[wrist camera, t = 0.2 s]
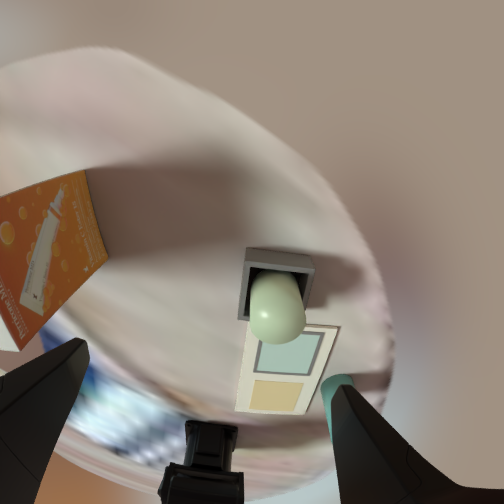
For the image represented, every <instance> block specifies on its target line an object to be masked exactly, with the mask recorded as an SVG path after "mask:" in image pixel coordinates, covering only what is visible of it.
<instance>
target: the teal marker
mask: <svg viewBox="0 0 504 504" xmlns="http://www.w3.org/2000/svg"><path fill="white" fill-rule="evenodd" d="M340 384H350V385H352V386H353V387H354V388H355V386H354V383H353V380H352V378H351V377H350V376H348V375H345V374H338V375H334V376H331V377H329V378H327V379H326V380H325V381H324V382H323V383H322V385H321V394H322V398H323V403H324V408H325V413H326V418H327V423H328V428H329V433H330V438H331V442H332V426H331V399H332V397H333V395H334V393H335V392H336V390H337V388H338V386H339V385H340ZM332 444H333V443H332Z"/></svg>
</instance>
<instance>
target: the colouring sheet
mask: <svg viewBox="0 0 504 504" xmlns="http://www.w3.org/2000/svg"><path fill="white" fill-rule="evenodd" d="M337 330H338V329H337V327H335V326H320V325H307V324H306V326H305V328H304V330H303V332H302V333H301V334H300V336H298V337H297V338H296V339H294V340H293V341H291V342H288V343H285V344H278V345H275V344H268V343H265V342H263V341H261V340H259V339H258V338H256V337H255V335H254V334H253V333H252V331H251V328H250V321H248V327H247V334H246V340H245V347H244V353H243V360H242V366H241V373H240V379H239V386H238V392H237V398H236V405H235V411H240V412H251V413H265V414H285V415H304V414H305V412H306V409H307V407H308V405H309V402H310V400H311V398H312V395H313V393H314V390H315V388H316V386H317V383H318V381H319V378H320V376H321V373H322V371H323V368H324V365H325V363H326V360H327V357H328V355H329V352H330V349H331V347H332V344H333V341H334V338H335V336H336V333H337Z"/></svg>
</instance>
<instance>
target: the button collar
mask: <svg viewBox="0 0 504 504" xmlns="http://www.w3.org/2000/svg"><path fill="white" fill-rule="evenodd" d="M250 267H257V268H266V269H274V270H282V271H291V272H300V273H301V277H300V281H299V286H298V287H299V291H300V295H301V299H302V303H303V307H304V311H305V310H306V306H307V302H308V298H309V294H310V290H311V286H312V282H313V278H314V274H315V270H316V269H315V266H314V264H313V262H312V259H311V257H310V256H308V255H300V254H292V253H284V252H276V251H268V250H260V249H251V248H246V253H245V261H244V269H243V276H242V284H241V292H240V300H239V309H238V320H245V321H250V300H246V293H247V286H248V279H249V272H250Z"/></svg>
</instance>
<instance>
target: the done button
mask: <svg viewBox="0 0 504 504" xmlns="http://www.w3.org/2000/svg"><path fill="white" fill-rule="evenodd" d="M305 326H306V315H305V311H304V307H303V303H302V299H301V295H300V291H299V287H298V283H297V281H296V278H295V277H294V276H293V275H292V274H291V273H290V272H289V271H282V270H274V269H266V270H263V271H261V272H260V273H259V274H257V275H256V276H255V278H254V279H253V281H252V284H251V296H250V328H251V331H252V333H253V334H254V335H255V337H256V338H258V339H259V340H261V341H263V342H265V343H268V344H275V345H278V344H285V343H288V342H291V341H293V340H294V339H296V338H297V337H298V336H300V334H301V333H302V332H303V330H304V328H305Z"/></svg>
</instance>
